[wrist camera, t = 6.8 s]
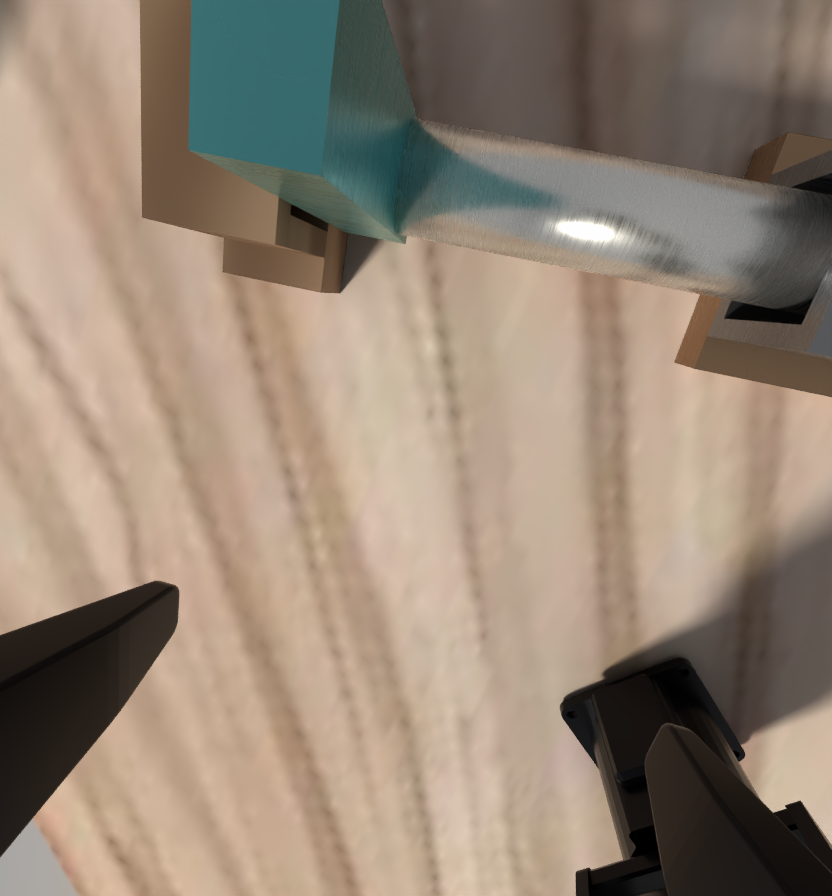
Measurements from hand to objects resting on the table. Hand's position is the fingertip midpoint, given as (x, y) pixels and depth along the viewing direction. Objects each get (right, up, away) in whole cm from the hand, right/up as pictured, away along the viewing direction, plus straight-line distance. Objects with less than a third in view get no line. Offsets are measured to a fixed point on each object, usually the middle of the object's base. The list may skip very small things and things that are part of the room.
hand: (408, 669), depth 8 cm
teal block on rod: (+5, +11, +6) cm, 13 cm away
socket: (-4, +14, +8) cm, 17 cm away
